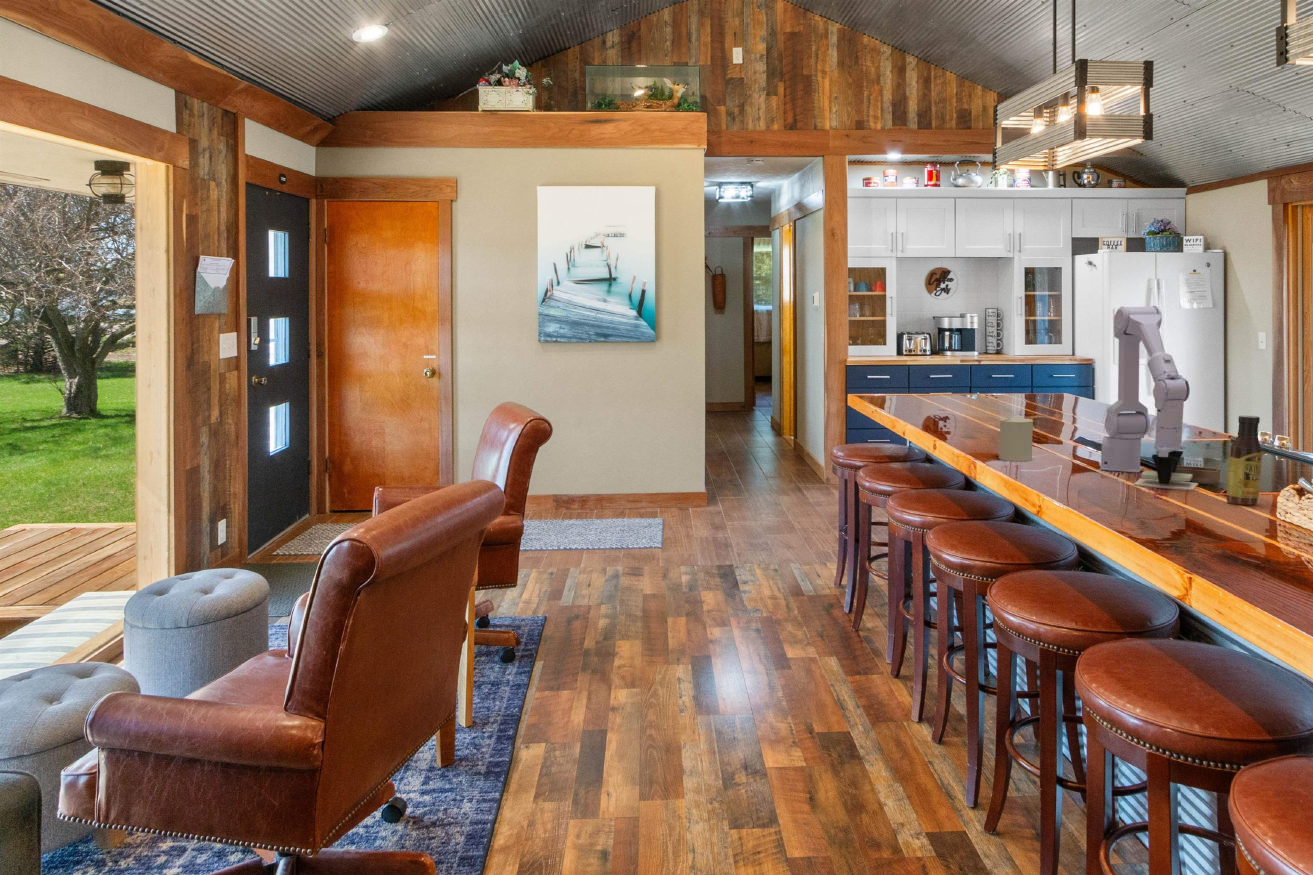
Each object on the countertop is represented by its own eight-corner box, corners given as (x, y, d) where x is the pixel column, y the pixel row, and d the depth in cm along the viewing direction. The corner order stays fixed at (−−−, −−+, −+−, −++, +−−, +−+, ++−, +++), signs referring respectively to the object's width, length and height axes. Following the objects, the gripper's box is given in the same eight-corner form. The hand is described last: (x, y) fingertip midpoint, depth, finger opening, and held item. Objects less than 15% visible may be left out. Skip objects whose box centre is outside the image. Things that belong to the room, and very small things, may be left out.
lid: (1140, 479, 238) (1141, 474, 238) (1144, 475, 243) (1145, 470, 242) (1189, 483, 232) (1189, 478, 232) (1192, 479, 236) (1192, 474, 236)
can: (995, 456, 284) (996, 416, 283) (1027, 456, 284) (1028, 416, 282) (1003, 461, 275) (1004, 420, 274) (1036, 461, 274) (1037, 420, 273)
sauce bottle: (1245, 507, 211) (1251, 418, 209) (1219, 502, 217) (1224, 415, 214) (1265, 504, 214) (1271, 416, 211) (1238, 499, 220) (1244, 413, 217)
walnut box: (1171, 481, 241) (1172, 468, 241) (1174, 478, 245) (1175, 465, 245) (1216, 485, 235) (1217, 471, 235) (1219, 482, 239) (1220, 468, 239)
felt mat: (1133, 485, 238) (1133, 483, 238) (1140, 479, 245) (1140, 478, 245) (1193, 490, 230) (1193, 489, 230) (1198, 484, 237) (1198, 483, 237)
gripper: (1183, 432, 227) (1179, 488, 229) (1191, 424, 239) (1188, 478, 241) (1150, 430, 231) (1147, 485, 233) (1160, 423, 243) (1157, 475, 245)
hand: (1166, 481), depth 237 cm, fingers closed on lid, 5 cm apart
